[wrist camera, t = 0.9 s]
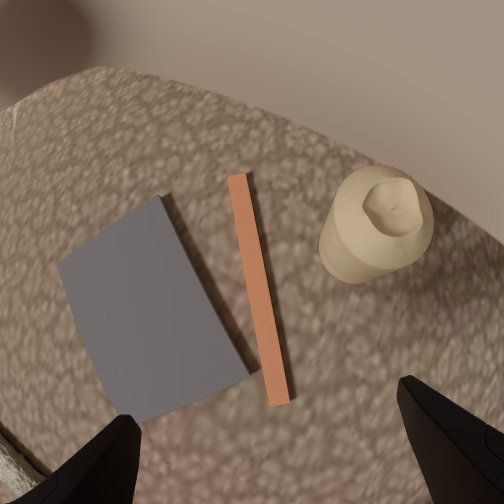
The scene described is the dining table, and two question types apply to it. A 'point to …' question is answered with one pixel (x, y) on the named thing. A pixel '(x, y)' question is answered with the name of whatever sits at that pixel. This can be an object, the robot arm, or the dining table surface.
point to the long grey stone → (16, 470)
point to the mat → (148, 316)
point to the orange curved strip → (258, 291)
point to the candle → (375, 225)
